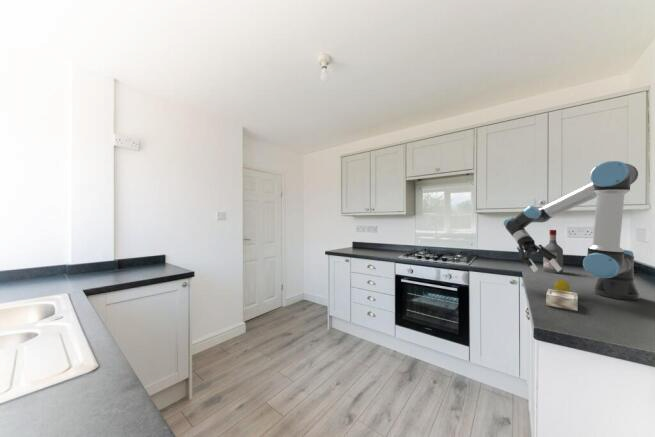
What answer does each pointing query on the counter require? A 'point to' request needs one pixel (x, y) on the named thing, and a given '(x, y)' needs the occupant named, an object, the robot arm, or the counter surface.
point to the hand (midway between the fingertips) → (548, 270)
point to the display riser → (562, 299)
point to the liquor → (555, 250)
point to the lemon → (562, 286)
